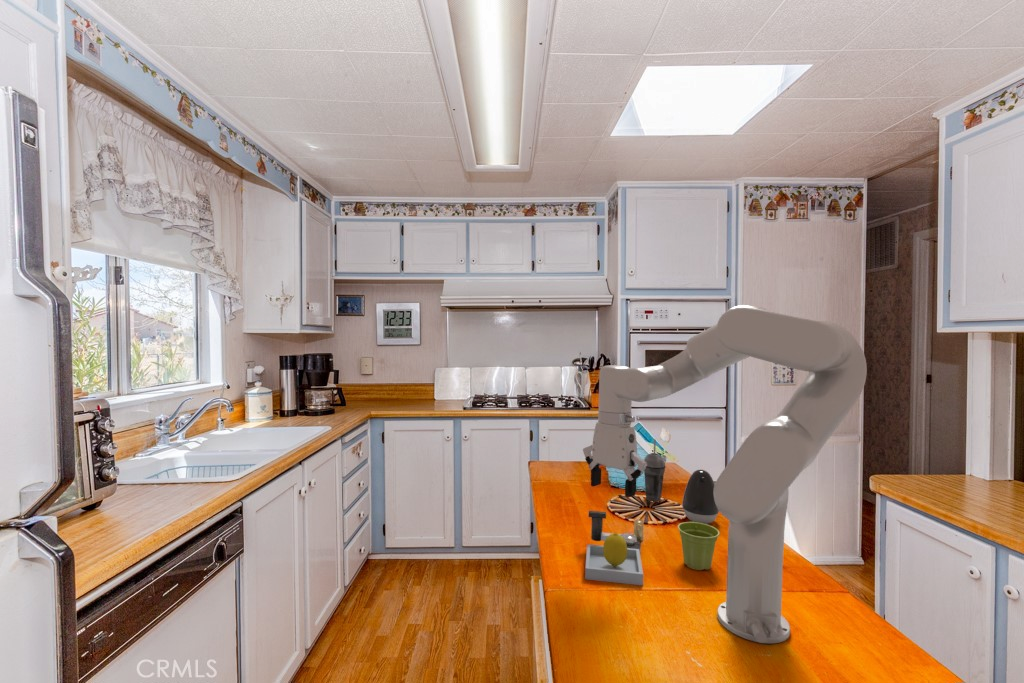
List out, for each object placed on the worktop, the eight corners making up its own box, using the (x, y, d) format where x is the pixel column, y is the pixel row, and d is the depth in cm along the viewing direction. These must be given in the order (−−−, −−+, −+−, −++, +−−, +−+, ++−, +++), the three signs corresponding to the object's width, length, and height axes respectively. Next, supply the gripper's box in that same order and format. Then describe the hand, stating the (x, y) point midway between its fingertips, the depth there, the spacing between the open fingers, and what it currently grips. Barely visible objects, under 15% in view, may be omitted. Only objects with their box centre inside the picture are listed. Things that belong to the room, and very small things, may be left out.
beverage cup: (641, 502, 161) (643, 441, 160) (642, 495, 168) (643, 436, 167) (664, 505, 159) (666, 443, 158) (664, 497, 166) (666, 438, 165)
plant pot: (681, 552, 125) (682, 518, 125) (721, 562, 120) (722, 526, 120) (672, 567, 117) (673, 531, 117) (715, 578, 112) (716, 540, 112)
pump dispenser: (683, 525, 142) (685, 473, 142) (680, 512, 153) (681, 463, 152) (721, 529, 140) (723, 476, 140) (715, 516, 150) (717, 466, 150)
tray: (642, 585, 109) (643, 574, 109) (585, 579, 111) (585, 568, 111) (638, 559, 121) (639, 549, 121) (586, 554, 123) (587, 544, 123)
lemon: (599, 568, 115) (600, 534, 114) (606, 559, 120) (607, 526, 119) (623, 574, 112) (624, 540, 112) (629, 564, 117) (630, 531, 117)
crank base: (646, 557, 122) (646, 537, 122) (616, 554, 123) (617, 535, 123) (642, 538, 133) (643, 519, 133) (615, 535, 135) (615, 517, 135)
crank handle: (636, 539, 127) (636, 512, 127) (637, 545, 123) (637, 518, 123) (588, 534, 129) (588, 508, 129) (587, 541, 125) (588, 514, 125)
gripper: (656, 422, 112) (653, 496, 112) (594, 411, 124) (592, 478, 125) (637, 426, 107) (635, 504, 107) (575, 414, 119) (573, 484, 120)
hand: (612, 490), depth 116 cm, fingers open, 9 cm apart
